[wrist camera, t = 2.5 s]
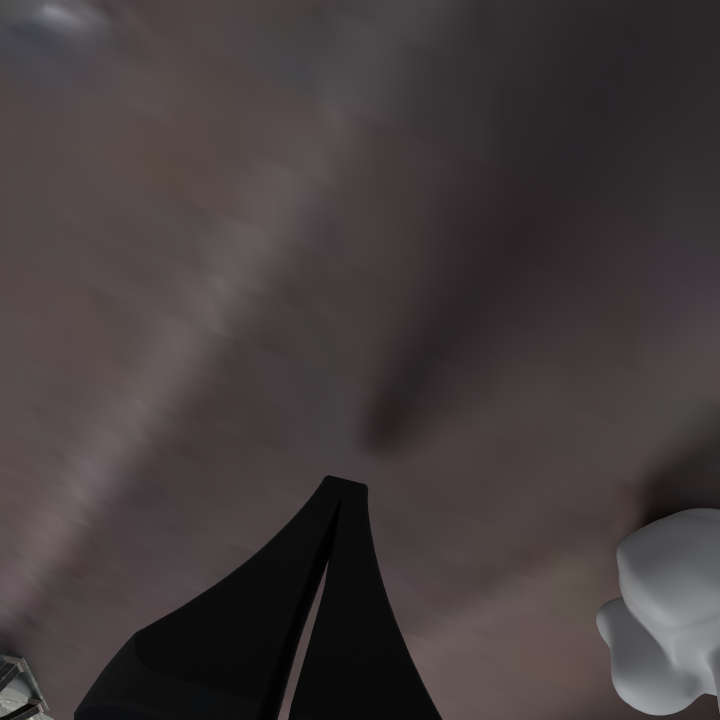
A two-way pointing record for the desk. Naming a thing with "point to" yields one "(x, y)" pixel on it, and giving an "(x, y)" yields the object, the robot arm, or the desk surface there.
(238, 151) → the desk surface
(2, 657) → the eiffel tower figurine
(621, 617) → the rubber duck
